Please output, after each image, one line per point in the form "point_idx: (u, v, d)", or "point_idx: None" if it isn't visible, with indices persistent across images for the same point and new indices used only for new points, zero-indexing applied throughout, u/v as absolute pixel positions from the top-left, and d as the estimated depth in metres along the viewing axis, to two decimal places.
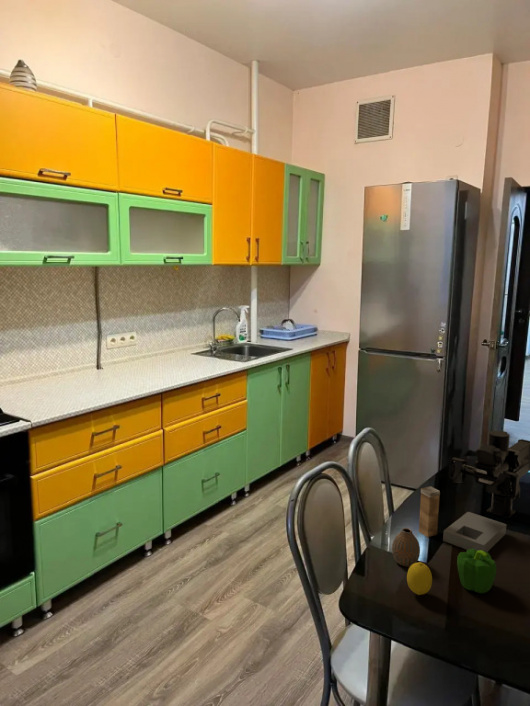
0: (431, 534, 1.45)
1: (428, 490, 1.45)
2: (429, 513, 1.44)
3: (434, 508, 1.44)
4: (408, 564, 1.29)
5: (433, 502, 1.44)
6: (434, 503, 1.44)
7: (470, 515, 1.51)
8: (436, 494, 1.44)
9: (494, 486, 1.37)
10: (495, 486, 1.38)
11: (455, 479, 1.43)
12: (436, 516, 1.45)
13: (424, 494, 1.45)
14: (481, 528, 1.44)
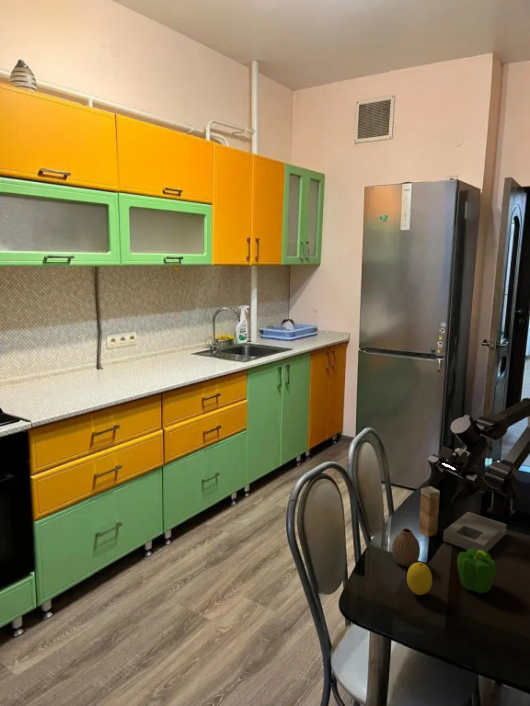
0: (431, 534, 1.45)
1: (428, 490, 1.45)
2: (429, 513, 1.44)
3: (434, 508, 1.44)
4: (408, 564, 1.29)
5: (433, 502, 1.44)
6: (434, 503, 1.44)
7: (470, 515, 1.51)
8: (436, 494, 1.44)
9: (458, 495, 1.42)
10: (459, 494, 1.42)
11: None
12: (436, 516, 1.45)
13: (424, 494, 1.45)
14: (481, 528, 1.44)
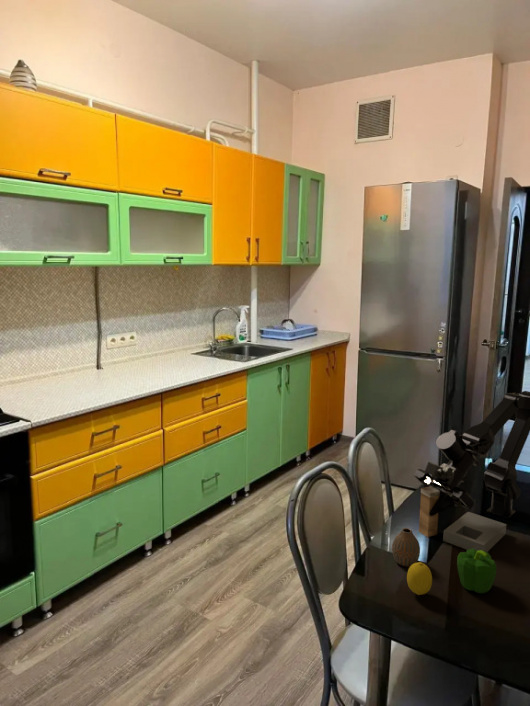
0: (431, 534, 1.45)
1: (428, 490, 1.45)
2: None
3: None
4: (408, 564, 1.29)
5: (433, 502, 1.44)
6: (434, 503, 1.44)
7: (470, 515, 1.51)
8: (436, 494, 1.44)
9: (436, 508, 1.43)
10: (437, 507, 1.43)
11: None
12: (436, 516, 1.45)
13: (424, 494, 1.45)
14: (481, 528, 1.44)
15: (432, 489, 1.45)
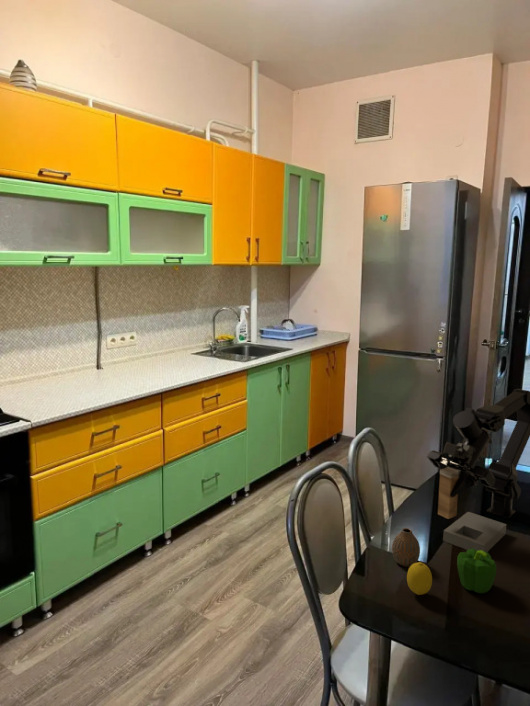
0: (451, 516, 1.42)
1: (447, 471, 1.41)
2: None
3: None
4: (408, 564, 1.29)
5: (453, 483, 1.40)
6: (454, 483, 1.40)
7: (470, 515, 1.51)
8: (456, 474, 1.40)
9: (457, 488, 1.40)
10: (458, 487, 1.40)
11: None
12: (456, 497, 1.42)
13: (444, 475, 1.41)
14: (481, 528, 1.44)
15: (451, 469, 1.42)
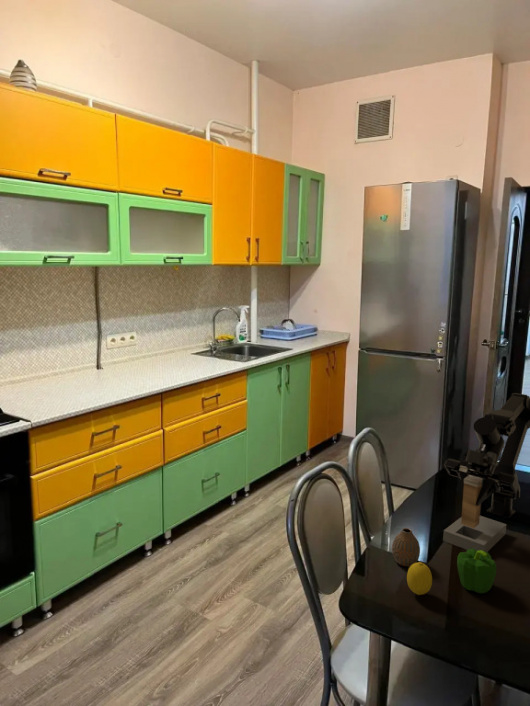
0: (476, 524, 1.40)
1: (472, 479, 1.39)
2: None
3: None
4: (408, 564, 1.29)
5: (478, 491, 1.38)
6: (479, 491, 1.38)
7: None
8: (480, 482, 1.38)
9: (482, 496, 1.38)
10: (483, 495, 1.38)
11: None
12: (479, 505, 1.40)
13: (469, 484, 1.38)
14: (481, 528, 1.44)
15: (474, 478, 1.40)
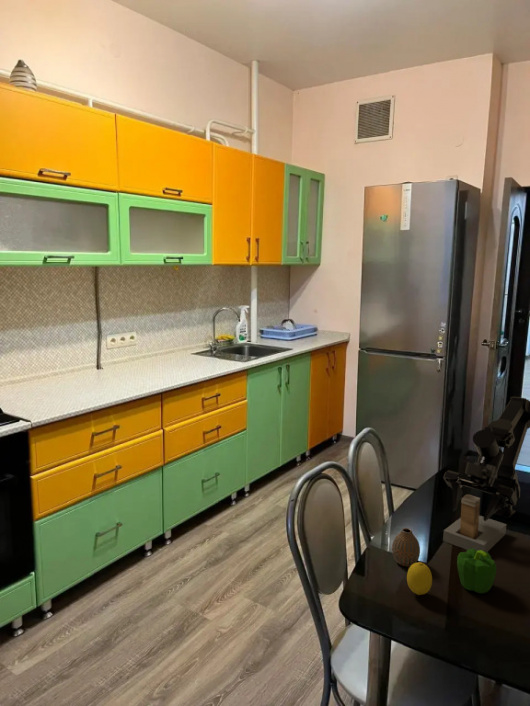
0: None
1: (469, 499, 1.39)
2: (474, 522, 1.38)
3: (476, 516, 1.39)
4: (408, 564, 1.29)
5: (476, 511, 1.39)
6: (476, 511, 1.39)
7: None
8: (478, 502, 1.39)
9: (490, 512, 1.37)
10: (491, 511, 1.37)
11: (455, 507, 1.43)
12: (477, 524, 1.41)
13: (466, 504, 1.39)
14: (481, 528, 1.44)
15: (472, 497, 1.40)
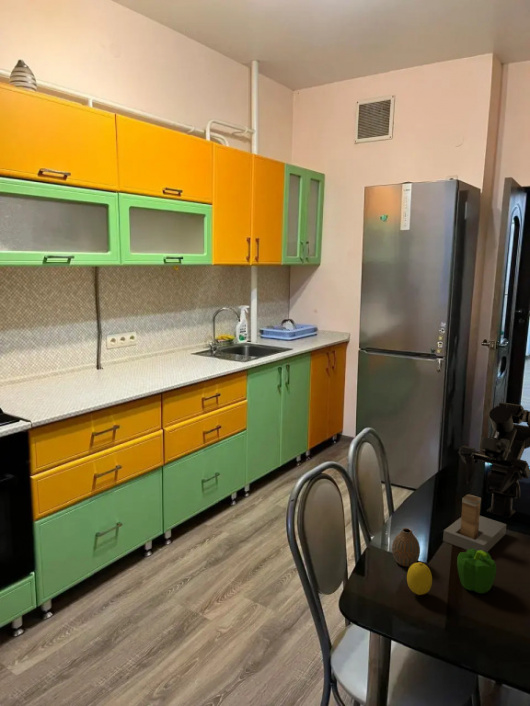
0: None
1: (470, 498, 1.39)
2: (474, 522, 1.39)
3: (477, 516, 1.40)
4: (408, 564, 1.29)
5: (476, 510, 1.39)
6: (477, 511, 1.39)
7: None
8: (479, 502, 1.39)
9: (506, 484, 1.42)
10: (507, 483, 1.42)
11: (469, 480, 1.49)
12: (478, 524, 1.41)
13: (467, 503, 1.39)
14: (481, 528, 1.44)
15: (473, 497, 1.40)
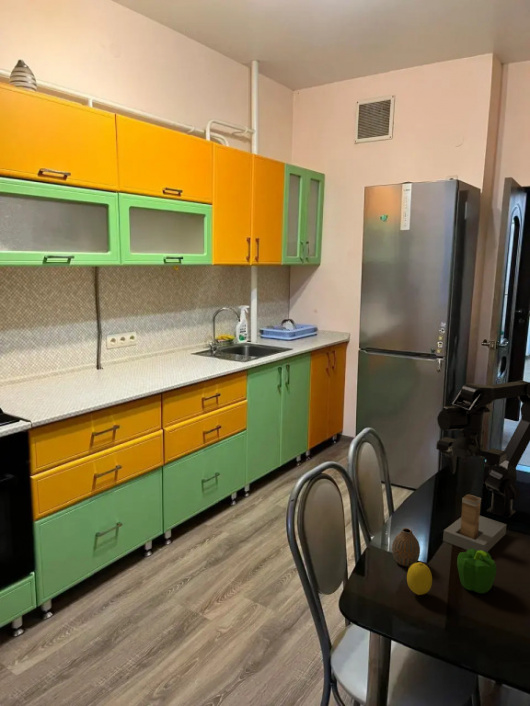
0: None
1: (470, 498, 1.39)
2: (474, 522, 1.39)
3: (477, 516, 1.40)
4: (408, 564, 1.29)
5: (476, 510, 1.39)
6: (477, 511, 1.39)
7: None
8: (479, 502, 1.39)
9: (486, 475, 1.49)
10: (487, 474, 1.49)
11: (454, 471, 1.56)
12: (478, 524, 1.41)
13: (467, 503, 1.39)
14: (481, 528, 1.44)
15: (473, 497, 1.40)
